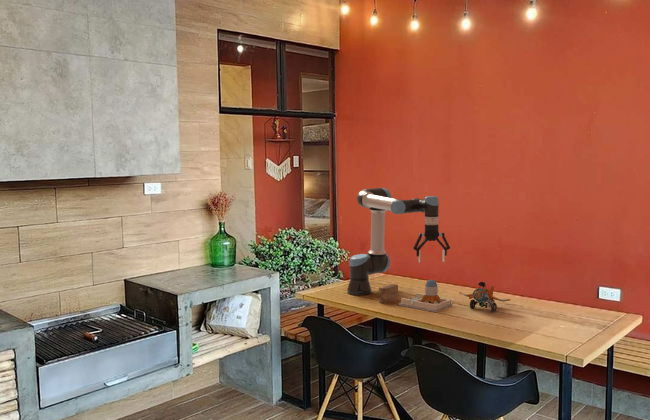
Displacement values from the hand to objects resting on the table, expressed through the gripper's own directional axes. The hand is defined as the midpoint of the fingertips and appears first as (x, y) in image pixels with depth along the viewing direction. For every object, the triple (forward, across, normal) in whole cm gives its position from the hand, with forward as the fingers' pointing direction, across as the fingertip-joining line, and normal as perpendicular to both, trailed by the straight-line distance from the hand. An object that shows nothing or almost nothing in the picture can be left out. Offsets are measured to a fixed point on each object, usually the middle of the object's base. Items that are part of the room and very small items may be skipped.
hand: (431, 262), depth 325 cm
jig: (+25, -3, +3) cm, 26 cm away
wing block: (+26, -22, +15) cm, 37 cm away
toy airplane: (+25, +27, -9) cm, 38 cm away
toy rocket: (+24, 0, -1) cm, 25 cm away
